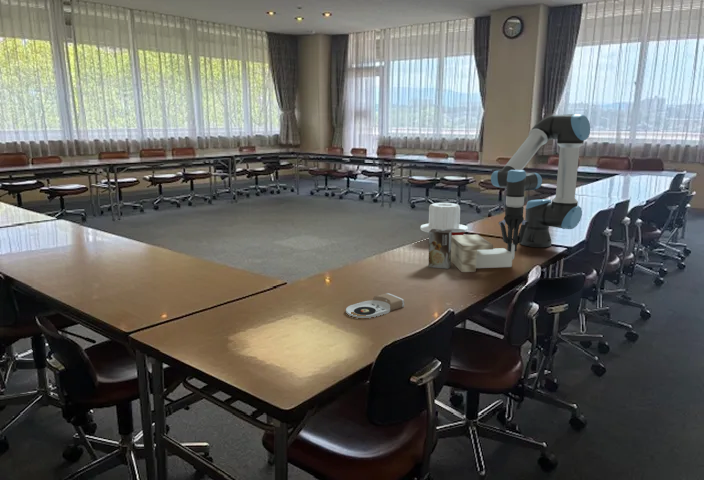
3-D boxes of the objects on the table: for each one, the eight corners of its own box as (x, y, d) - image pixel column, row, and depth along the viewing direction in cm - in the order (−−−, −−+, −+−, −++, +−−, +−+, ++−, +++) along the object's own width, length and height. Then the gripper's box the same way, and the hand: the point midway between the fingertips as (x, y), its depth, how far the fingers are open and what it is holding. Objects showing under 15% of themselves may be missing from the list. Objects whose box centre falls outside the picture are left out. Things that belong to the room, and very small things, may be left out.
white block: (503, 260, 230) (503, 248, 229) (511, 267, 220) (512, 253, 219) (468, 262, 229) (469, 249, 228) (475, 268, 219) (476, 254, 218)
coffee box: (451, 265, 224) (452, 229, 220) (448, 269, 218) (449, 232, 215) (431, 263, 227) (432, 228, 224) (427, 267, 222) (428, 231, 218)
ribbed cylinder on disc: (415, 235, 284) (416, 201, 280) (458, 233, 287) (459, 200, 283) (426, 245, 260) (427, 209, 256) (473, 243, 263) (475, 207, 259)
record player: (406, 300, 173) (359, 314, 161) (406, 308, 173) (360, 323, 162) (384, 291, 182) (339, 304, 170) (384, 299, 183) (339, 312, 171)
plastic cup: (463, 250, 249) (464, 226, 246) (465, 256, 238) (466, 231, 236) (440, 250, 250) (441, 226, 247) (442, 256, 239) (443, 231, 237)
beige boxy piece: (476, 258, 234) (477, 234, 232) (491, 271, 215) (493, 244, 212) (449, 259, 233) (449, 235, 230) (461, 272, 214) (462, 245, 211)
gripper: (525, 204, 224) (521, 255, 229) (496, 204, 222) (494, 256, 228) (532, 206, 216) (529, 260, 222) (503, 207, 215) (500, 261, 220)
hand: (511, 258), depth 225 cm, fingers closed
